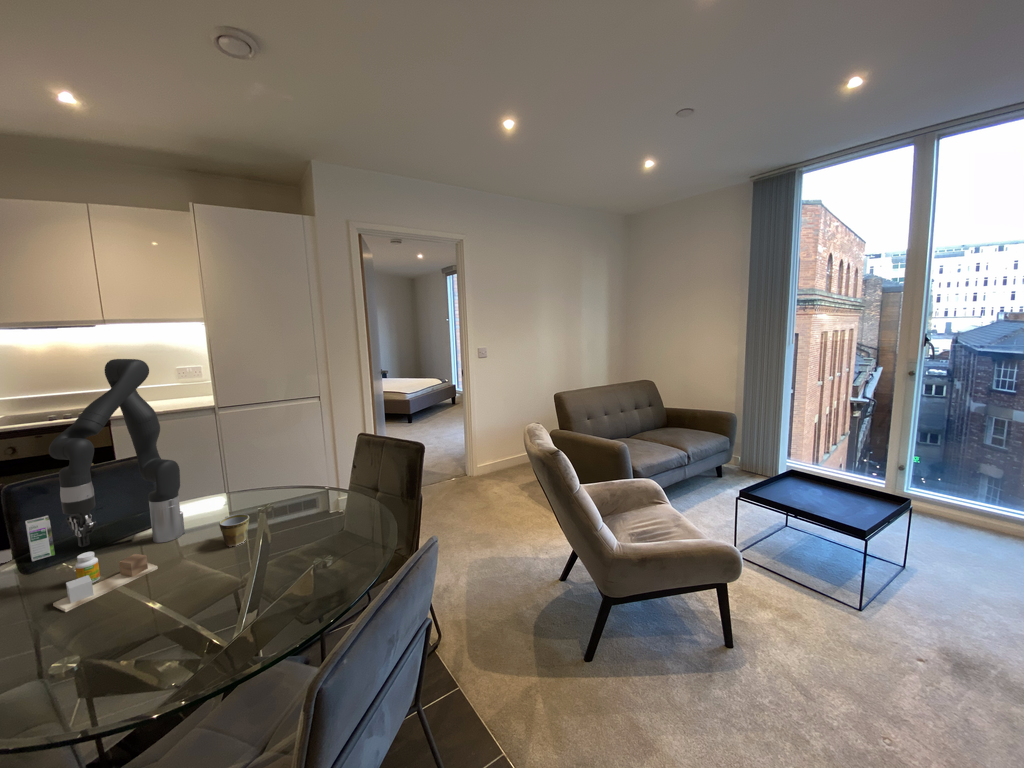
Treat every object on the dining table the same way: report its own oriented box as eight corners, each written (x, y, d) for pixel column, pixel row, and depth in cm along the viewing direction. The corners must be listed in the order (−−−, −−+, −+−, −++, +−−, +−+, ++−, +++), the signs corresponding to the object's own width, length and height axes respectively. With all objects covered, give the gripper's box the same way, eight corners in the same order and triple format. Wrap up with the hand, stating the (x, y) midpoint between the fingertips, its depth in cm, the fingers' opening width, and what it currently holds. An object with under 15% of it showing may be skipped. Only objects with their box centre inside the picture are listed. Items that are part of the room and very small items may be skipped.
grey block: (90, 589, 131) (88, 574, 131) (93, 595, 129) (91, 580, 128) (68, 597, 127) (65, 582, 127) (70, 603, 124) (68, 588, 124)
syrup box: (31, 562, 147) (26, 525, 145) (30, 556, 150) (24, 520, 148) (55, 555, 151) (49, 519, 149) (53, 549, 155) (48, 514, 153)
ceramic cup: (255, 541, 164) (253, 518, 163) (227, 552, 156) (226, 528, 155) (240, 531, 171) (238, 509, 170) (213, 542, 163) (211, 519, 161)
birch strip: (145, 564, 147) (145, 561, 147) (157, 568, 145) (157, 566, 144) (53, 606, 125) (52, 603, 124) (65, 612, 122) (65, 609, 122)
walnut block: (136, 566, 144) (134, 553, 143) (147, 568, 143) (146, 555, 142) (120, 574, 139) (119, 561, 138) (132, 576, 138) (130, 563, 137)
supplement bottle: (85, 587, 134) (81, 560, 132) (73, 584, 135) (69, 558, 133) (104, 577, 139) (101, 551, 138) (92, 575, 140) (89, 549, 139)
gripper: (104, 495, 134) (110, 544, 136) (81, 489, 138) (87, 536, 141) (73, 504, 127) (80, 555, 129) (51, 497, 131) (57, 546, 134)
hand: (84, 545), depth 135 cm, fingers closed
